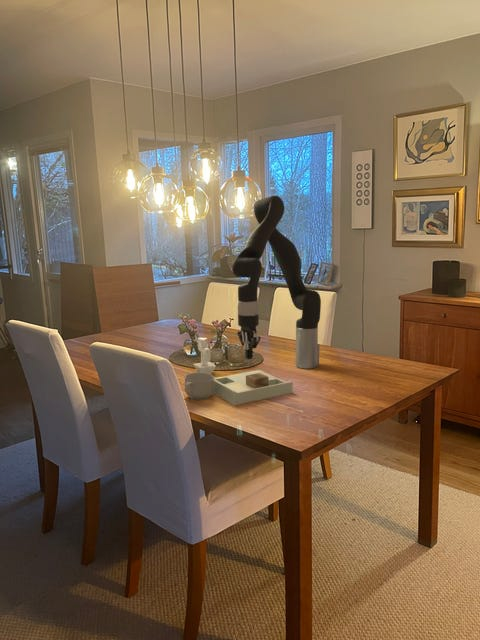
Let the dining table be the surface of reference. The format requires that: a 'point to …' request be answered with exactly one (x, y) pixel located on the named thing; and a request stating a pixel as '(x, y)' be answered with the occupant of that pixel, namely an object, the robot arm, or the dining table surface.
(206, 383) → the teacup
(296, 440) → the dining table surface
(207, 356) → the figurine
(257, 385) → the block
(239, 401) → the box
